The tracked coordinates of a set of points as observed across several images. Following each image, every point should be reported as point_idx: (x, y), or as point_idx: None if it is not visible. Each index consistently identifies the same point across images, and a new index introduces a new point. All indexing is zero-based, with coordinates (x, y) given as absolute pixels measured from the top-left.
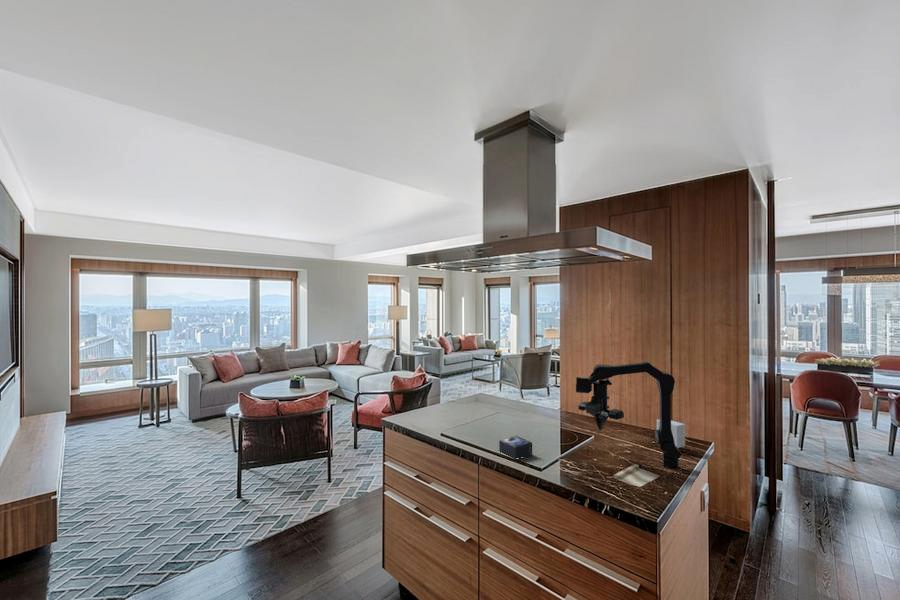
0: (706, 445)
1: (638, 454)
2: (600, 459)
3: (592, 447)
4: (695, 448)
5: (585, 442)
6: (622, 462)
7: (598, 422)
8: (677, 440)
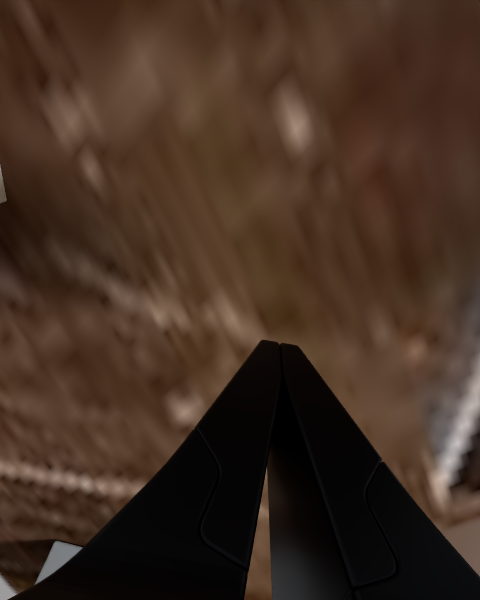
0: (16, 593)
1: (121, 404)
2: (258, 159)
3: (393, 340)
4: (18, 563)
5: (465, 389)
6: (113, 229)
7: (305, 453)
8: (36, 581)
